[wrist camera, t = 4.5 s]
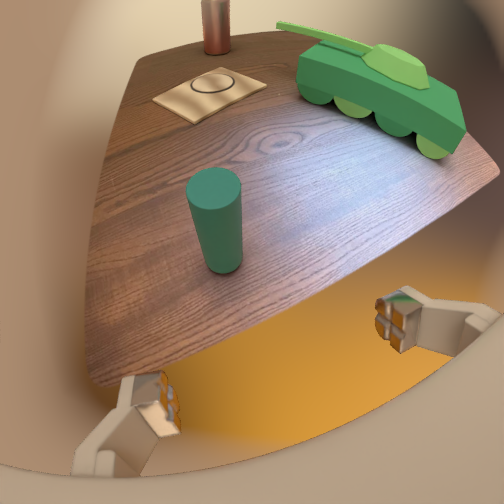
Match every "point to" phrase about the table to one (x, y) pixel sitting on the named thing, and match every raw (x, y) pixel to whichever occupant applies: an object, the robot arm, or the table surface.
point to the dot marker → (217, 217)
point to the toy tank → (380, 89)
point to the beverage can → (216, 26)
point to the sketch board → (208, 94)
